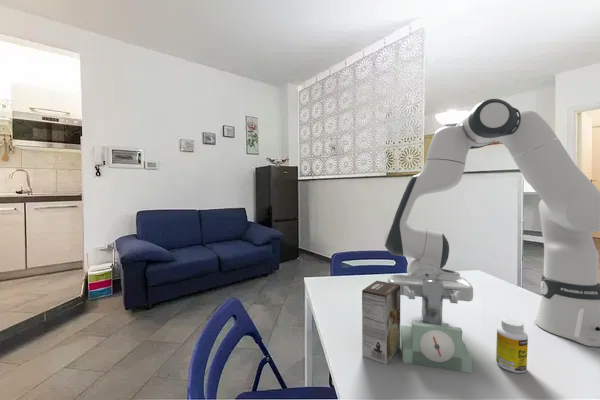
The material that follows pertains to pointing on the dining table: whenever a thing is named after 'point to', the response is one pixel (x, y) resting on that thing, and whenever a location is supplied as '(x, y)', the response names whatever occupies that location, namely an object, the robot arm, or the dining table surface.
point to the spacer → (432, 301)
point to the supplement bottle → (512, 346)
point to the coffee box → (381, 321)
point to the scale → (435, 347)
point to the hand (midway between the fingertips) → (432, 298)
